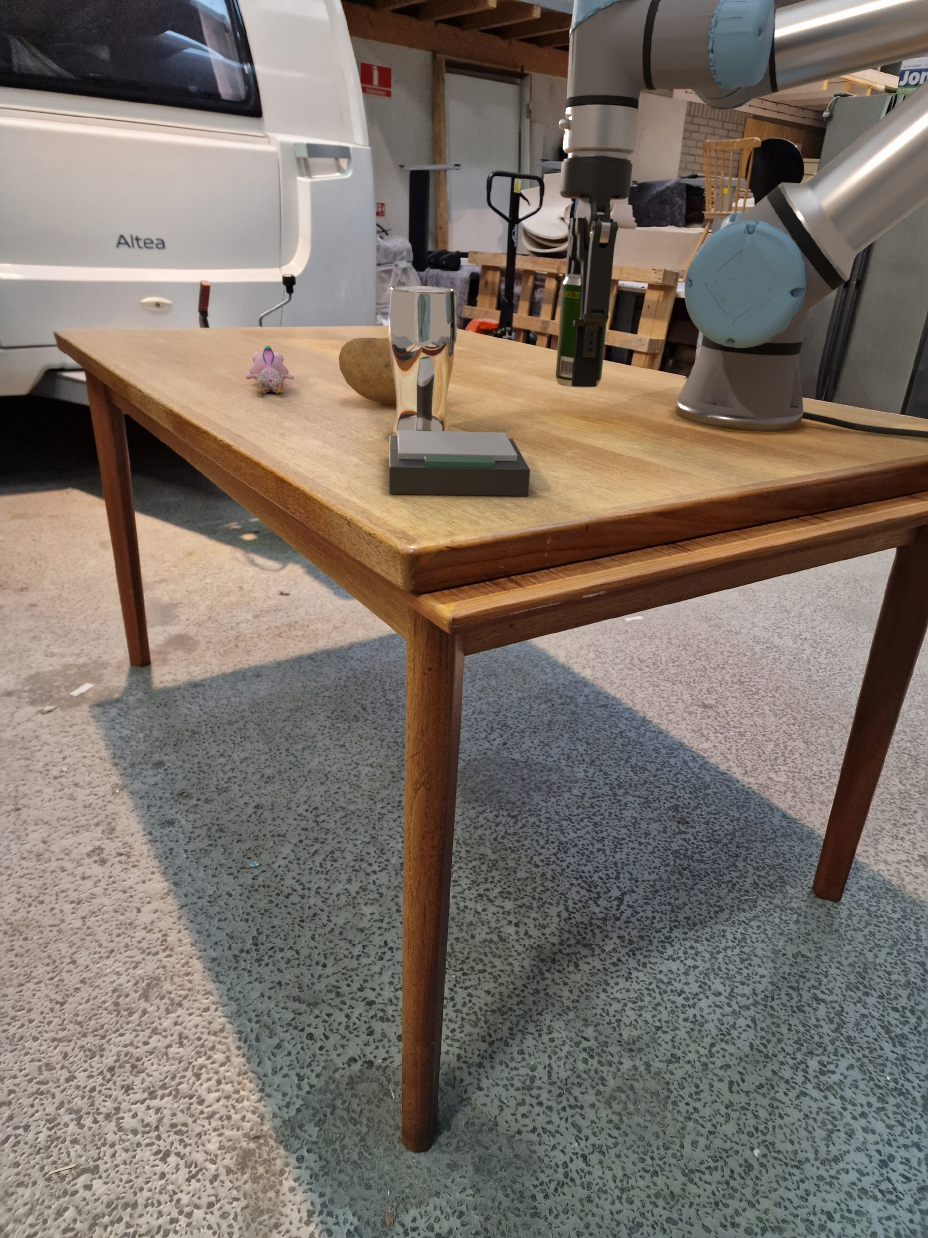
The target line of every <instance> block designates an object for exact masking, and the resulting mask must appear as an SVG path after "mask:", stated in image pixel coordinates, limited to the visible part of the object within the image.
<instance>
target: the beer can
mask: <svg viewBox="0 0 928 1238" xmlns="http://www.w3.org/2000/svg"><path fill="white" fill-rule="evenodd" d="M565 276H566V277H565ZM580 286H581V274H576V273H566V272H565V274H564V279H563V281H562V283H561V296H560V309H559V310H560V311H559V323H558V324H559V325H558V336H557V337H558V339H557V351H556V365H555V379H556V382H557V385H559V386H562V387H563V386H564V387H568V388H574V387H573V386H571V384H572V372H573V360H574V348H575V336H576V326H573V321H574V320H579V318H580ZM607 323H608V321H607V322H606V323H603V326H602V328H601V338H600V349H599V359H598V370H597V380H596V387H597V386H599V384H600V382H601V381H602V376H603V365H604V355H605V354H604V353H605V345H606V335H607ZM579 388H583V389H584V388H587V387H579Z"/></svg>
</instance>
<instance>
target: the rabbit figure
mask: <svg viewBox="0 0 928 1238" xmlns="http://www.w3.org/2000/svg"><path fill="white" fill-rule="evenodd" d="M252 361H253V365H252V366H251V367H250V369H249V374H247V375H245V377H244V378H245V380H252V379H254V380H255V385H256V389H257V391H258V392H257V394H258V395H259V394H260V395H262V394H264V395H265V394H267V393H269V392H273V393H275V394H280V396H281V397H282V396H283V395H282V394H285V391H284V390H285V381H284V380H285V379H288V380H294V379H295V376H294V375H292V374H290V372H289V370H288V368H287V367H286V366H285V365H284V361H285V358H284V355H283V354H282V353H280V352H274V351H273V349H272V347H271V346H270V345H269V344H268V345H265V346H264V349H263V351H262V352H260V351H259V352H254V353H253V355H252Z"/></svg>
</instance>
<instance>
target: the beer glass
mask: <svg viewBox="0 0 928 1238" xmlns="http://www.w3.org/2000/svg"><path fill="white" fill-rule="evenodd" d="M457 312H458V310H457V290H456V289H455V288H452V287H451V288H450V287H444V286H443V287H442V286H431V285H430V286H429V285H394V286H391V287H390V297H389V310H388V327H387V328H388V330H387V332H388V333H387V334H388V338H389V351H390V360H391V366H392V373H393V379H394V385H395V392H396V404H395V416H394V422H393V428H392V434H391V436H398V430H411V431H449V425H448V419H447V417H448V416H447V399H448V393H449V387H450V383H451V377H452V372H453V368H454V367H453V366H454V362H455V355H456V351H457V350H456V349H457V335H458V313H457Z"/></svg>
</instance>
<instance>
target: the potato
mask: <svg viewBox="0 0 928 1238" xmlns="http://www.w3.org/2000/svg"><path fill="white" fill-rule="evenodd" d="M338 362H339V363H338V364H339V365H338V366H339V370H340V373H341V374H342V376H343V378H344V380H345V382H346V384H347V385H348V386H349V387H351V389H352V390H353V391H354V392H355V393H357V394H358V395H359V396H361V397H362V398H364V399H366V400H369V401H372V402H375V403H380V404H385V405H396V392H395V385H394V379H393V373H392V366H391V360H390V351H389V337H355V338H352V339H350V340H348V341H346V342H345V344H343V345H342V347H341V349H340V351H339V355H338Z"/></svg>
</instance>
